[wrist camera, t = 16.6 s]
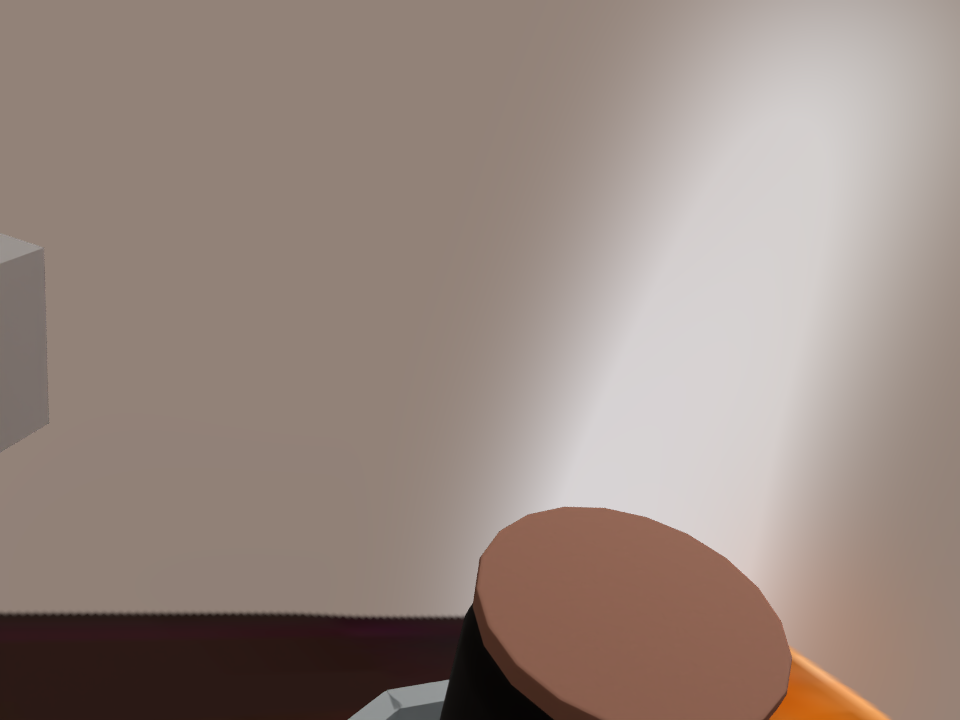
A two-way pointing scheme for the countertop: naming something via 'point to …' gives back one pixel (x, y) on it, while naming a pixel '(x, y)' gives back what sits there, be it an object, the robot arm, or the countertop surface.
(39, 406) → the robot arm
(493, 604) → the coffee jar
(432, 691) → the bowl
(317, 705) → the countertop surface
